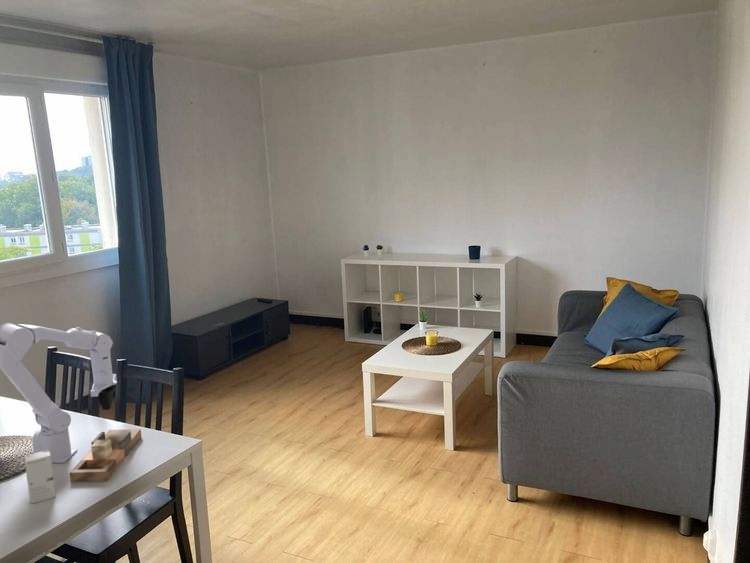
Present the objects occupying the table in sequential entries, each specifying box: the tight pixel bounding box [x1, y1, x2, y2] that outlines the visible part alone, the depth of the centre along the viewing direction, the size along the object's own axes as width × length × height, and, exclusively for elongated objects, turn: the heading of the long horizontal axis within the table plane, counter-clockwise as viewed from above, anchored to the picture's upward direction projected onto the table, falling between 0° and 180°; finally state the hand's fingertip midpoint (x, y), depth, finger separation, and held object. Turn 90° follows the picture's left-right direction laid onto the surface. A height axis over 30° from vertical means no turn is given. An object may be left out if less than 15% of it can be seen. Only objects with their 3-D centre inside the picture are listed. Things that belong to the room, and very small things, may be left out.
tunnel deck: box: [69, 428, 142, 483], centre depth 179 cm, size 10×26×6 cm, turn 1°
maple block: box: [90, 439, 112, 459], centre depth 175 cm, size 4×4×4 cm
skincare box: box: [24, 450, 56, 504], centre depth 159 cm, size 6×4×12 cm
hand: (106, 408), depth 193 cm, fingers closed
